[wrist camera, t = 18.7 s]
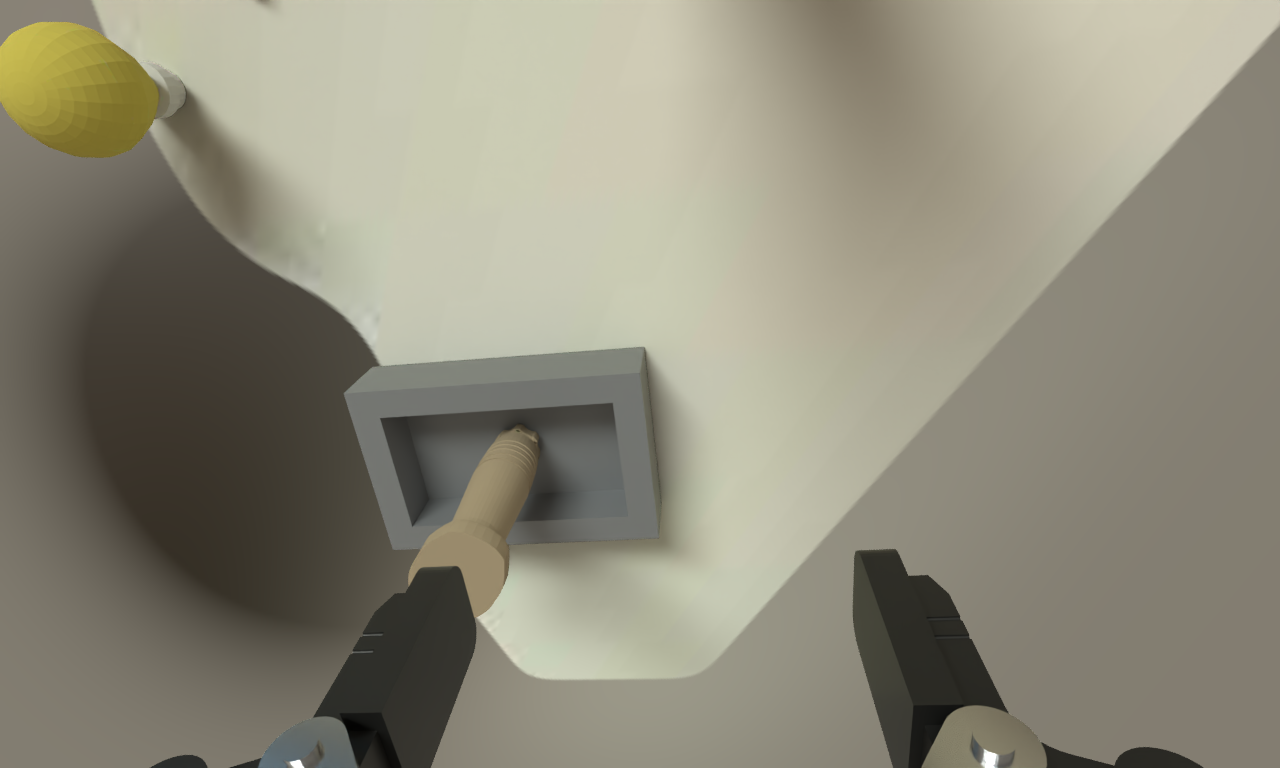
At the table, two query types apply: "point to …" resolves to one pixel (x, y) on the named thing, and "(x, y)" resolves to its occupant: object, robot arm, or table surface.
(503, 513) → the handle
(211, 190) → the table surface
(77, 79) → the light bulb
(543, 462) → the gray rectangular tray
